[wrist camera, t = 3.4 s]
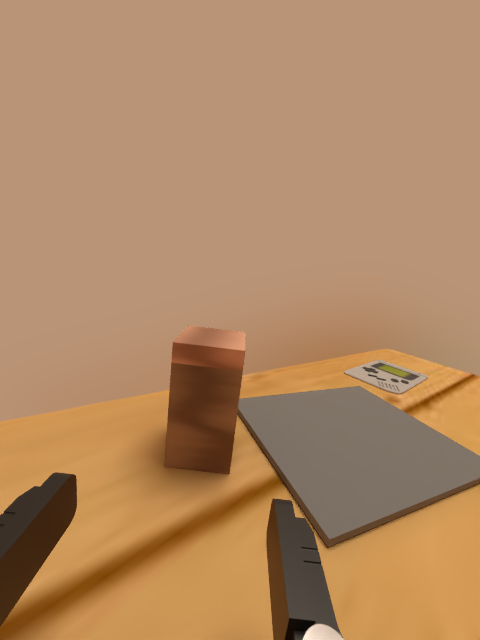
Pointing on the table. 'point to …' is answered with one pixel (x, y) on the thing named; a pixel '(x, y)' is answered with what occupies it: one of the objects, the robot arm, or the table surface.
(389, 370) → the handheld gaming device
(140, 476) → the table surface
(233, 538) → the table surface
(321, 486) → the charcoal mat
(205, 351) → the copper block
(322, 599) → the robot arm
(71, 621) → the table surface
